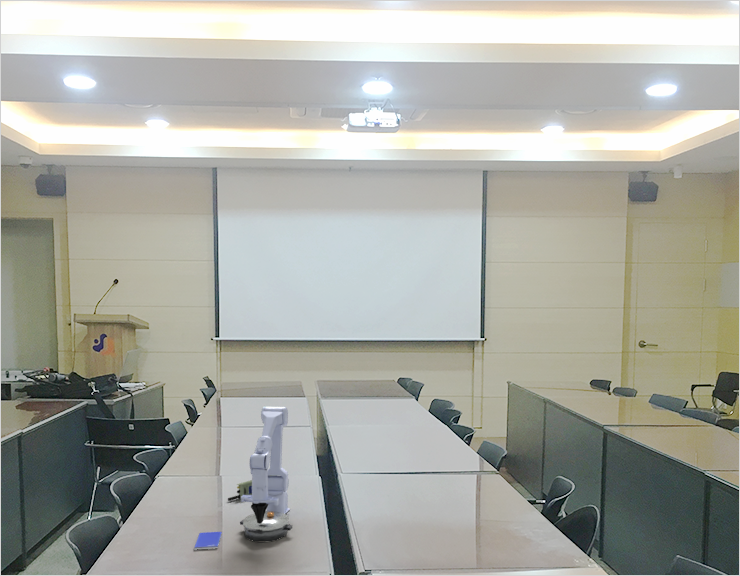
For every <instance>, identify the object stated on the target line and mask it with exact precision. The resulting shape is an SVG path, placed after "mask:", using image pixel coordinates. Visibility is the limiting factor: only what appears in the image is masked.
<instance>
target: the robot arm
mask: <svg viewBox="0 0 740 576" xmlns="http://www.w3.org/2000/svg"><path fill="white" fill-rule="evenodd" d="M260 413H261V414H260V417H261V421H262V423H263V427H262V433H261V436H260V437H258V439H257V442H256V445H255V447H254V453H253V454H251V455H250V458H249V470H250V475H251V480H252V495H243V496H241V499H240V502H241V503H246V502H247V503H252V504H250V508H251V510H252V511H253V514H254V513H255V516H256V519H257V523H260V524H261V523H262V522H263V518H264V514H265V511H276V512H281V513H284V514H286V515H287V513H288V512H289V511H290V510H291V508H290V507H288V505H289V503H288V502H289V498H288V497H289V495H288V492H287V491H288V489H289V481H290V479H289V473H288V471H287V470H286V469H285V468H284V467H282V465H283V462H282V460H283V457H282V456H283V432H284V431H283V430H284V427H287V426H288V421H289V411H288V408H287V407H286V406H265V405H264V406H263V407H262V409H261V411H260ZM269 475H276V476H269Z"/></svg>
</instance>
